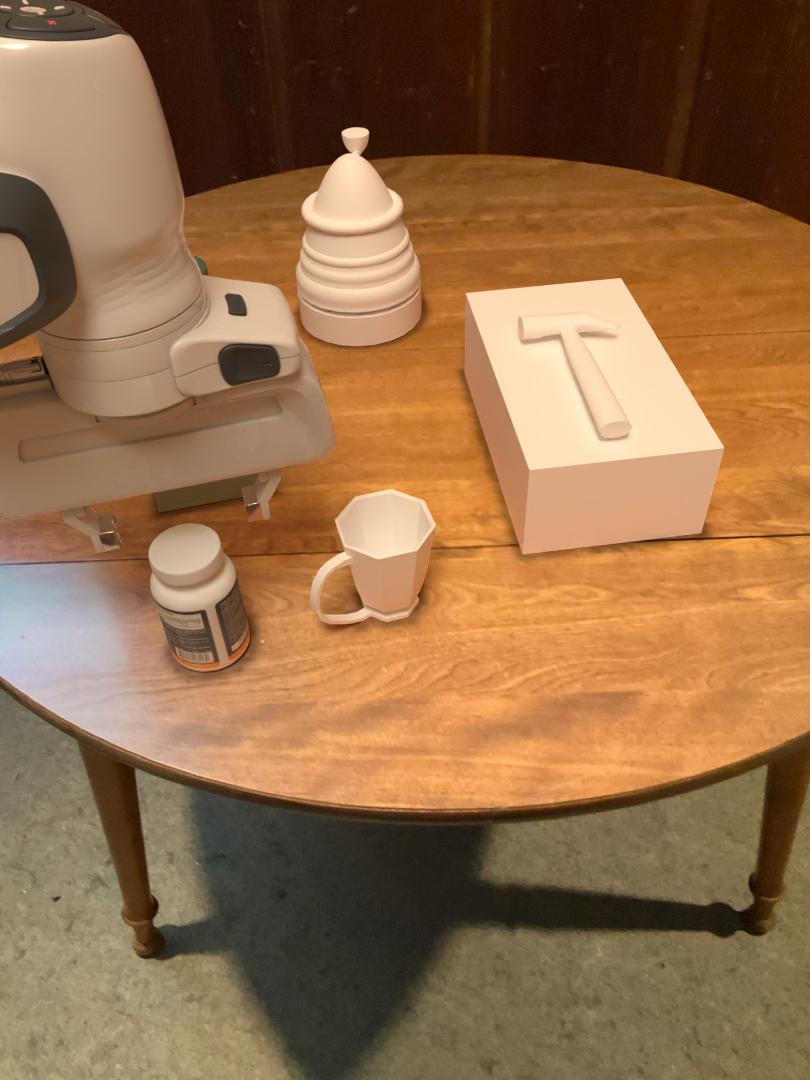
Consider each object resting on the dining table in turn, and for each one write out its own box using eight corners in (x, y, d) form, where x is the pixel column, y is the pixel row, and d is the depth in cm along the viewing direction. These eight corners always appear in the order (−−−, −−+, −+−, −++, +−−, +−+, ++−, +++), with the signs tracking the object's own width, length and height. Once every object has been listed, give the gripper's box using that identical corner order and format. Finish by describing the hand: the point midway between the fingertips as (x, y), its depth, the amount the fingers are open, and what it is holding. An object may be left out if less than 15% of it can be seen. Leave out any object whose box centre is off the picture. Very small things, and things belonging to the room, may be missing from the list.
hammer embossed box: (609, 357, 91) (624, 254, 83) (701, 533, 73) (731, 422, 65) (464, 372, 90) (466, 269, 82) (522, 554, 72) (531, 444, 64)
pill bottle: (224, 602, 69) (200, 504, 62) (266, 647, 66) (245, 549, 59) (157, 640, 67) (124, 543, 60) (197, 689, 64) (167, 593, 57)
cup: (456, 604, 69) (457, 525, 63) (347, 674, 64) (338, 596, 59) (397, 552, 73) (393, 474, 67) (291, 615, 68) (277, 537, 63)
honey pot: (324, 276, 104) (307, 110, 91) (435, 289, 101) (433, 120, 88) (282, 337, 95) (257, 163, 83) (402, 353, 92) (395, 175, 80)
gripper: (-83, 412, 45) (13, 600, 55) (327, 341, 48) (350, 531, 58) (-69, 344, 50) (18, 528, 59) (307, 282, 52) (331, 468, 62)
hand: (184, 529), depth 59 cm, fingers open, 8 cm apart
